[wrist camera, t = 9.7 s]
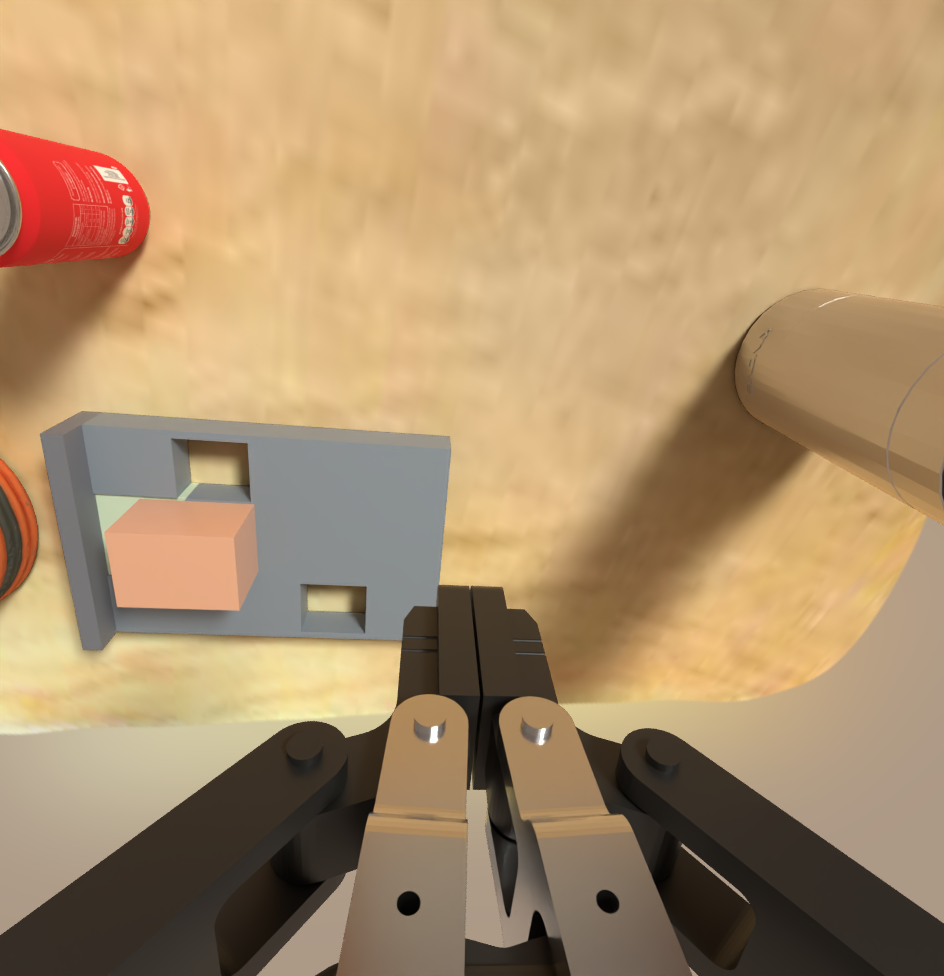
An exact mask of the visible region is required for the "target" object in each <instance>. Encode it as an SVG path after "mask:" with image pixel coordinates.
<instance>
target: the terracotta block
mask: <svg viewBox="0 0 944 976" xmlns="http://www.w3.org/2000/svg"><path fill="white" fill-rule="evenodd" d="M104 535H105V540H106V546H107V552H108V557H109V563H110V569H111V574H112V580H113V586H114V591H115V597H116V603H117V607H132V608H167V609H201V610H236V611H240V609H241V606H242V604H243V602H244V600H245V598H246V596H247V594H248V592H249V590H250V588H251V586H252V584H253V581H254V579H255V577H256V575H257V573H258V556H257V540H256V524H255V507H254V504H237V503H216V502H195V501H174V500H153V499H139V500H138V501H137V502H136V503H135V504H134V505H132V506H131V507H130V508H129V509H128V510H127V511H126V512H125V513H124V514H123V515H122V516H121V517H120V518H119V519H118V520H117V521H116V522H115V523H113V524H112V525H111V526H110V527H109V528H108V529H107V530H106V531H105V532H104Z"/></svg>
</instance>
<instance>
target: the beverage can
mask: <svg viewBox="0 0 944 976" xmlns="http://www.w3.org/2000/svg"><path fill="white" fill-rule="evenodd" d="M149 224H150V207H149V203H148V200H147V197H146V195H145V193H144V191H143V189H142V187H141V186H140V184H139V182H138V181H137V180H136V178H135V177H134V176H133V174H132V173H131V172H130V171H129V170H128V169H127V168H126V167H124V166H123V165H122V164H121V163H119V162H118V161H116V160H115V159H113V158H111V157H109V156H107V155H104V154H102V153H98V152H94V151H90V150H86V149H82V148H78V147H73V146H69V145H65V144H61V143H57V142H52V141H48V140H44V139H40V138H36V137H32V136H27V135H23V134H19V133H15V132H11V131H7V130H2V129H0V268H1V267H13V266H24V265H35V264H47V263H58V262H69V261H81V260H92V259H103V258H114V257H120V256H124V255H126V254H129V253H130V252H132V251H134V250H135V249H136V248H137V247H138V246H139V245H140V244H141V243H142V241H143V240H144V238H145V236H146V234H147V231H148V228H149Z"/></svg>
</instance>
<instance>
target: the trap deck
mask: <svg viewBox="0 0 944 976" xmlns="http://www.w3.org/2000/svg"><path fill="white" fill-rule="evenodd" d="M40 437H41V442H42V447H43V452H44V457H45V462H46V467H47V472H48V477H49V482H50V487H51V492H52V497H53V502H54V507H55V512H56V517H57V522H58V527H59V532H60V537H61V542H62V547H63V552H64V557H65V562H66V567H67V572H68V577H69V582H70V587H71V592H72V597H73V602H74V607H75V612H76V617H77V622H78V627H79V632H80V637H81V642H82V647H83V650H103V649H104V648H105V646H106V645H107V644H108V642H109V641H110V640H111V639H112V637H113V636H114V635H115V633H116V632H144V633H176V634H209V635H241V636H274V637H307V638H339V639H372V640H402V635H403V623H404V619H405V617H406V616H407V615H408V613H409V612H410V611H411V609H412V608H413V607H414V606H431V607H436V601H437V588H438V585H439V580H440V568H441V557H442V546H443V535H444V524H445V512H446V501H447V490H448V479H449V468H450V457H451V444H450V437H449V436H434V435H420V434H405V433H391V432H376V431H362V430H347V429H333V428H318V427H304V426H289V425H275V424H260V423H246V422H231V421H217V420H202V419H188V418H173V417H159V416H144V415H130V414H115V413H101V412H87V411H82V412H80V413H78V414H76V415H74V416H72V417H70V418H69V419H67V420H65V421H63V422H61V423H59V424H57V425H55V426H53V427H52V428H50V429H48V430H46V431H44V432H42V433H40ZM187 439H189V440H204V441H220V442H235V443H248V459H249V477H250V486H239V485H222V484H204V483H191V473H190V462H189V452H188V442H187ZM139 499H153V500H174V501H195V502H216V503H237V504H254V507H255V524H256V540H257V556H258V573H257V575H256V577H255V579H254V581H253V584H252V586H251V588H250V590H249V592H248V594H247V596H246V598H245V600H244V602H243V604H242V606H241V609H240V611H236V610H201V609H167V608H132V607H117V603H116V597H115V591H114V586H113V580H112V574H111V569H110V563H109V557H108V552H107V546H106V540H105V535H104V532H105V531H106V530H107V529H108V528H109V527H110V526H111V525H112V524H113V523H115V522H116V521H117V520H118V519H119V518H120V517H121V516H122V515H123V514H124V513H125V512H126V511H127V510H128V509H129V508H130V507H131V506H132V505H134V504H135V503H136V502H137V501H138V500H139ZM307 584H315V585H340V586H365V587H367V594H366V613H353V612H324V611H308V606H307Z"/></svg>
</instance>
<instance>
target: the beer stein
mask: <svg viewBox="0 0 944 976" xmlns="http://www.w3.org/2000/svg"><path fill="white" fill-rule="evenodd" d="M37 546H38V527H37V522H36V516H35V513H34V510H33V506H32V504H31V501H30V499H29V497H28V495H27V493H26V491H25V489H24V487H23V486H22V484H21V483H20V481H19V479H18V478H17V477H16V475H15V474H14V473H13V471H12V470H11V469H10V468H9V467H8V466H7V465H6V464H5V463H4V462H3V461H2V460H1V459H0V600H1V599H3V598H5V597H6V596H7V595H8V594H10V593H11V592H12V591H14V590H15V589H16V588H17V587H18V586H19V585H20V584H21V583H22V582H23V580H24V579H25V578H26V577H27V575H28V574H29V572H30V570H31V568H32V565H33V563H34V559H35V555H36V551H37Z"/></svg>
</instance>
